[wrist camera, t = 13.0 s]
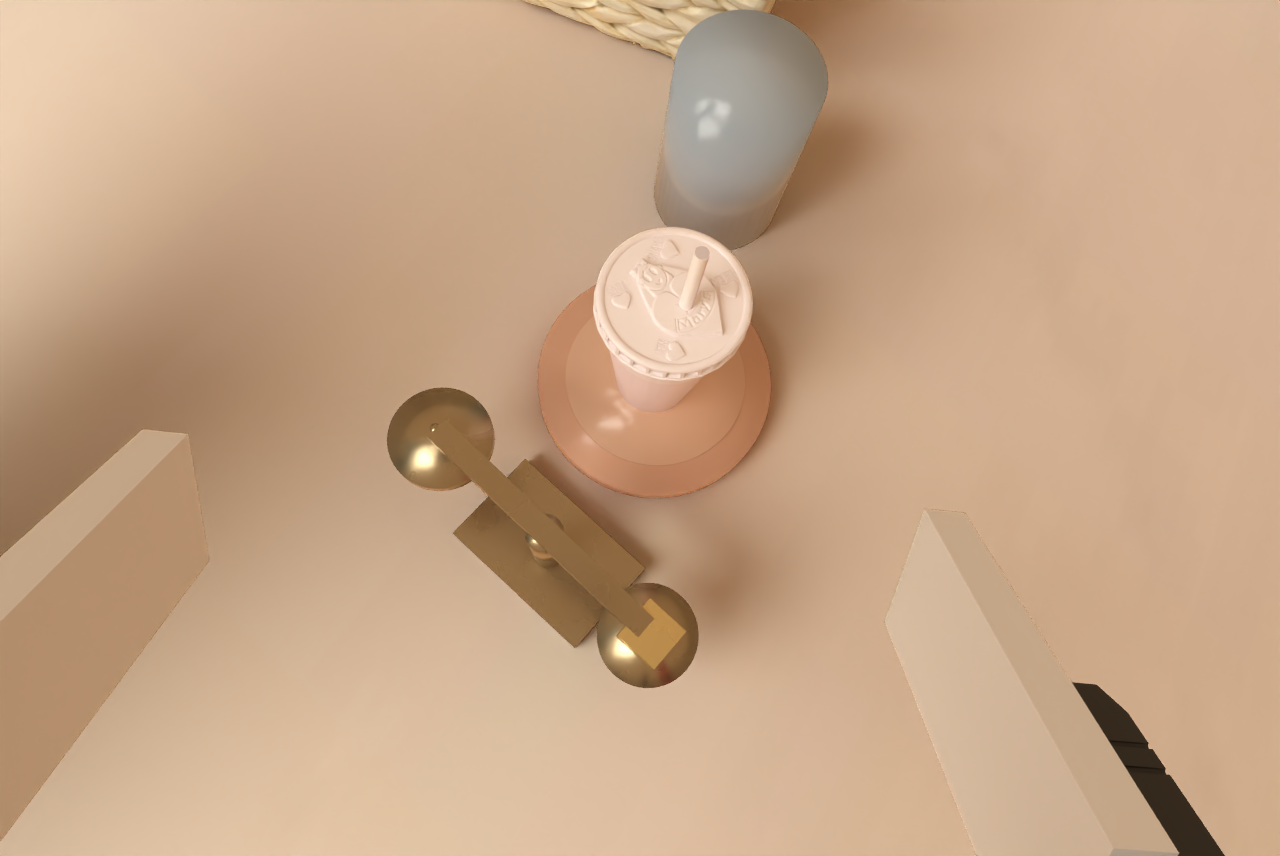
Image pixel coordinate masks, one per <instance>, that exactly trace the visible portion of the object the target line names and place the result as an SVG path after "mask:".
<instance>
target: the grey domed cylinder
mask: <svg viewBox="0 0 1280 856" xmlns="http://www.w3.org/2000/svg"><path fill="white" fill-rule="evenodd" d="M827 89H828V74H827V69H826V65H825V62H824V59H823V57H822V55H821V53H820V51H819V49H818V48H817V46H816V45H815V44H814V42H813V41H812V40H811V39H810V38H809V37H808V36H807V34H805V33H804V32H803V31H802V30H801V29H800V28H798V27H797V26H795V25H794V24H792V23H791V22H789V21H787V20H785V19H783V18H781V17H778V16H776V15H773V14H770V13H766V12H762V11H757V10H745V9H744V10H731V11H725V12H722V13H718V14H715V15H713V16H710V17H708V18H706V19H704V20H703V21H701V22H700V23H698V24H697V25H696V26H694V27H693V28H692V29H691V30H690V31H689V32H688V33H687V35H686V36H685V37H684V39H683V40H682V42H681V44H680V46H679V48H678V51H677V54H676V58H675V64H674V70H673V76H672V82H671V88H670V94H669V101H668V107H667V113H666V119H665V125H664V131H663V137H662V143H661V149H660V156H659V162H658V168H657V174H656V180H655V186H654V199H655V204H656V208H657V211H658V213H659V215H660V217H661V219H662V221H663V222H664V224H665V225H666V226H667V227H680V228H686V229H691V230H695V231H698V232H701V233H703V234H706V235H708V236H710V237H712V238H713V239H715V240H717V241H718V242H720V243H721V244H723V245H724V246H725V247H726V248H727V249H728V250H732V249H737V248H740V247H743V246H745V245H747V244H749V243H751V242H752V241H754V240H755V239H757V238H758V237H759V236H760V235H761V234H762V233H763V232H764V231H765V230H766V229H767V227H768V225H769V224H770V222H771V220H772V218H773V216H774V213H775V211H776V209H777V207H778V204H779V202H780V200H781V198H782V195H783V193H784V191H785V189H786V186H787V184H788V182H789V180H790V177H791V175H792V173H793V171H794V168H795V166H796V164H797V162H798V160H799V157H800V155H801V153H802V151H803V148H804V146H805V144H806V142H807V139H808V137H809V135H810V133H811V130H812V128H813V126H814V124H815V121H816V119H817V117H818V115H819V112H820V110H821V108H822V106H823V103H824V101H825V98H826V94H827Z"/></svg>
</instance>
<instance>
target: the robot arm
mask: <svg viewBox="0 0 1280 856" xmlns="http://www.w3.org/2000/svg"><path fill="white" fill-rule="evenodd" d="M208 561H209V555H208V549H207V543H206V537H205V531H204V525H203V519H202V513H201V507H200V501H199V495H198V489H197V483H196V477H195V471H194V465H193V459H192V453H191V447H190V441H189V435H188V434H186V433H176V432H166V431H156V430H146V429H142V430H141V431H140V432H139V433H138V434H137V435H135V436H134V437H133V438H132V439H131V440H130V441H129V442H128V443H127V444H125V445H124V446H123V447H122V448H121V449H120V450H119V451H118V452H117V453H115V454H114V455H113V456H112V457H111V458H110V459H109V460H108V461H107V462H105V463H104V464H103V465H102V466H101V467H100V468H99V469H98V470H97V471H95V472H94V473H93V474H92V475H91V476H90V477H89V478H88V479H86V480H85V481H84V482H83V483H82V484H81V485H80V486H79V487H78V488H76V489H75V490H74V491H73V492H72V493H71V494H70V495H69V496H68V497H66V498H65V499H64V500H63V501H62V502H61V503H60V504H59V505H58V506H56V507H55V508H54V509H53V510H52V511H51V512H50V513H49V514H48V515H46V516H45V517H44V518H43V519H42V520H41V521H40V522H39V523H37V524H36V525H35V526H34V527H33V528H32V529H31V530H30V531H29V532H27V533H26V534H25V535H24V536H23V537H22V538H21V539H20V540H19V541H17V542H16V543H15V544H14V545H13V546H12V547H11V548H10V549H9V550H7V551H6V552H5V553H4V554H3V555H2V556H1V557H0V842H1V840H2V839H3V838H4V836H5V835H6V834H7V832H8V831H9V829H10V828H11V827H12V825H13V824H14V823H15V821H16V820H17V819H18V817H19V816H20V815H21V813H22V812H23V811H24V809H25V808H26V807H27V805H28V804H29V803H30V801H31V800H32V798H33V797H34V796H35V794H36V793H37V792H38V790H39V789H40V788H41V786H42V785H43V784H44V782H45V781H46V780H47V778H48V777H49V776H50V774H51V773H52V772H53V770H54V769H55V767H56V766H57V765H58V763H59V762H60V761H61V759H62V758H63V757H64V755H65V754H66V753H67V751H68V750H69V749H70V747H71V746H72V745H73V743H74V742H75V741H76V739H77V738H78V737H79V735H80V734H81V732H82V731H83V730H84V728H85V727H86V726H87V724H88V723H89V722H90V720H91V719H92V718H93V716H94V715H95V714H96V712H97V711H98V710H99V708H100V707H101V706H102V704H103V703H104V701H105V700H106V699H107V697H108V696H109V695H110V693H111V692H112V691H113V689H114V688H115V687H116V685H117V684H118V683H119V681H120V680H121V679H122V677H123V676H124V675H125V673H126V672H127V670H128V669H129V668H130V666H131V665H132V664H133V662H134V661H135V660H136V658H137V657H138V656H139V654H140V653H141V652H142V650H143V649H144V648H145V646H146V645H147V644H148V642H149V641H150V640H151V638H152V637H153V635H154V634H155V633H156V631H157V630H158V629H159V627H160V626H161V625H162V623H163V622H164V621H165V619H166V618H167V617H168V615H169V614H170V613H171V611H172V610H173V609H174V607H175V606H176V604H177V603H178V602H179V600H180V599H181V598H182V596H183V595H184V594H185V592H186V591H187V590H188V588H189V587H190V586H191V584H192V583H193V582H194V580H195V579H196V578H197V576H198V575H199V573H200V572H201V571H202V569H203V568H204V567H205V565H206V564H207V563H208ZM885 625H886V627H887V630H888V632H889V635H890V638H891V640H892V643H893V645H894V648H895V650H896V653H897V655H898V658H899V660H900V663H901V666H902V668H903V671H904V673H905V676H906V678H907V681H908V683H909V686H910V688H911V691H912V694H913V696H914V699H915V701H916V704H917V706H918V709H919V711H920V714H921V716H922V719H923V721H924V724H925V727H926V729H927V732H928V734H929V737H930V739H931V742H932V744H933V747H934V749H935V752H936V755H937V757H938V760H939V762H940V765H941V767H942V770H943V772H944V775H945V777H946V780H947V782H948V785H949V788H950V790H951V793H952V795H953V798H954V800H955V803H956V805H957V808H958V810H959V813H960V816H961V818H962V821H963V823H964V826H965V828H966V831H967V833H968V836H969V838H970V841H971V844H972V846H973V849H974V851H975V854H976V856H1225V855H1224V854H1223V852H1222V851H1221V849H1220V848H1219V847H1218V845H1217V844H1216V842H1215V841H1214V839H1213V838H1212V836H1211V835H1210V833H1209V832H1208V830H1207V829H1206V827H1205V826H1204V824H1203V823H1202V821H1201V820H1200V819H1199V817H1198V816H1197V814H1196V813H1195V811H1194V810H1193V808H1192V807H1191V805H1190V804H1189V802H1188V801H1187V799H1186V798H1185V796H1184V795H1183V794H1182V792H1181V791H1180V789H1179V788H1178V786H1177V785H1176V783H1175V782H1174V780H1173V779H1172V777H1171V776H1170V775H1166V773H1165V769H1166V768H1165V767H1164V766H1163V764H1162V763H1161V761H1160V760H1159V758H1158V757H1157V755H1156V754H1155V752H1154V751H1153V749H1149V748H1148V742H1147V741H1146V739H1145V738H1144V736H1143V735H1142V733H1141V732H1140V730H1139V729H1138V727H1137V726H1136V724H1135V723H1134V721H1133V720H1132V718H1131V717H1130V716H1129V714H1128V713H1127V712H1126V711H1125V710H1124V709H1123V708H1122V707H1121V706H1120V705H1119V704H1117V703H1116V702H1115V701H1114V700H1113V699H1112V698H1111V697H1110V696H1108V695H1107V694H1106V693H1105V692H1104V691H1103V690H1102V689H1101V688H1100V687H1098V686H1097V685H1095V684H1083V683H1072V682H1071V680H1070V679H1069V677H1068V676H1067V674H1066V672H1065V671H1064V669H1063V668H1062V666H1061V664H1060V663H1059V661H1058V660H1057V658H1056V656H1055V655H1054V653H1053V652H1052V650H1051V649H1050V647H1049V645H1048V644H1047V642H1046V641H1045V639H1044V637H1043V636H1042V634H1041V633H1040V631H1039V629H1038V628H1037V626H1036V625H1035V623H1034V621H1033V620H1032V618H1031V617H1030V615H1029V614H1028V612H1027V610H1026V609H1025V607H1024V606H1023V604H1022V602H1021V601H1020V599H1019V598H1018V596H1017V594H1016V593H1015V591H1014V590H1013V588H1012V586H1011V585H1010V583H1009V582H1008V580H1007V579H1006V577H1005V575H1004V574H1003V572H1002V571H1001V569H1000V567H999V566H998V564H997V563H996V561H995V559H994V558H993V556H992V555H991V553H990V551H989V550H988V548H987V547H986V545H985V544H984V542H983V540H982V539H981V537H980V536H979V534H978V532H977V531H976V529H975V528H974V526H973V524H972V523H971V521H970V520H969V518H968V516H967V515H966V513H964V512H954V511H944V510H934V509H924V512H923V515H922V517H921V520H920V523H919V526H918V529H917V532H916V534H915V537H914V540H913V543H912V546H911V549H910V551H909V554H908V557H907V560H906V563H905V566H904V568H903V571H902V574H901V577H900V580H899V583H898V585H897V588H896V591H895V594H894V597H893V599H892V602H891V605H890V608H889V611H888V614H887V616H886V619H885Z"/></svg>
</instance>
